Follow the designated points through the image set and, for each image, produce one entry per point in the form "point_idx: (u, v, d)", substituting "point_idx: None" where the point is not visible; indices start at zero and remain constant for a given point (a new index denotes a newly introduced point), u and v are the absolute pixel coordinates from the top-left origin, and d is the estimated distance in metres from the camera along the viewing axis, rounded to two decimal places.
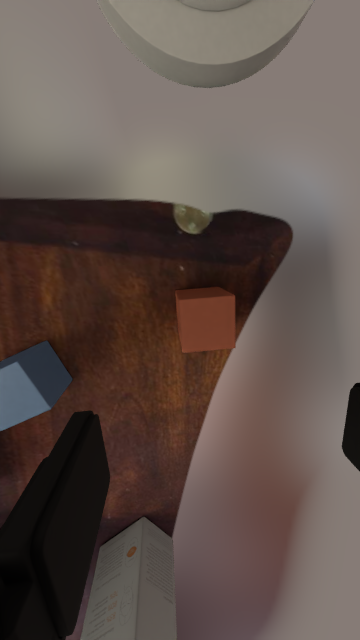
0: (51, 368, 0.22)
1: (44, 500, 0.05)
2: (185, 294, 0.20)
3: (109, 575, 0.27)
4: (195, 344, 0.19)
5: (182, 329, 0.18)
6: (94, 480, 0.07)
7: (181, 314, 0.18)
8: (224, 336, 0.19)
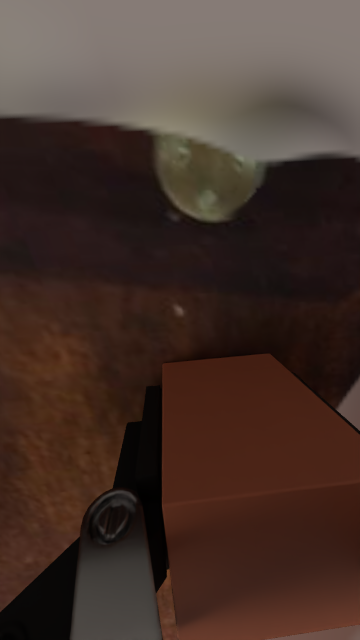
0: None
1: (155, 444, 0.06)
2: (189, 413, 0.06)
3: None
4: (228, 629, 0.05)
5: (179, 596, 0.05)
6: None
7: (174, 552, 0.04)
8: (338, 600, 0.05)
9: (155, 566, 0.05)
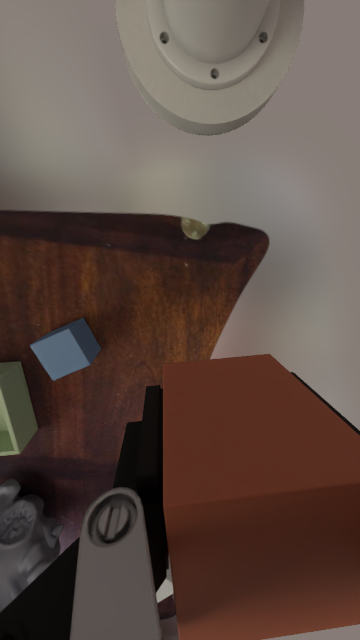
0: (87, 337, 0.29)
1: (155, 444, 0.06)
2: (190, 414, 0.06)
3: None
4: (228, 628, 0.05)
5: (180, 595, 0.05)
6: None
7: (175, 552, 0.04)
8: (338, 600, 0.05)
9: (155, 566, 0.05)
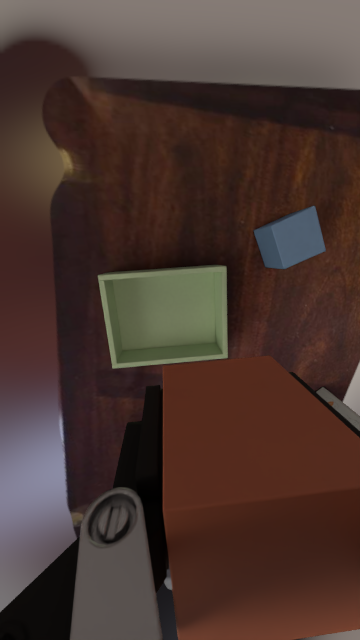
0: None
1: (155, 444, 0.06)
2: (190, 417, 0.06)
3: None
4: (229, 634, 0.05)
5: (180, 601, 0.05)
6: None
7: (175, 557, 0.04)
8: (339, 605, 0.05)
9: (155, 566, 0.05)
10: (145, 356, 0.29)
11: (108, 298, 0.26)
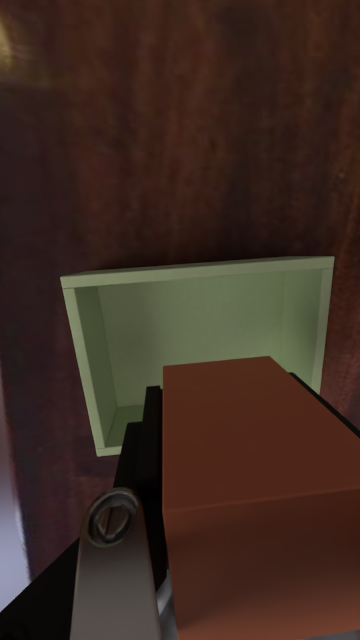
0: None
1: (155, 444, 0.06)
2: (190, 417, 0.06)
3: None
4: (228, 634, 0.05)
5: (179, 601, 0.05)
6: None
7: (175, 558, 0.04)
8: (338, 606, 0.05)
9: (155, 566, 0.05)
10: None
11: (86, 323, 0.13)
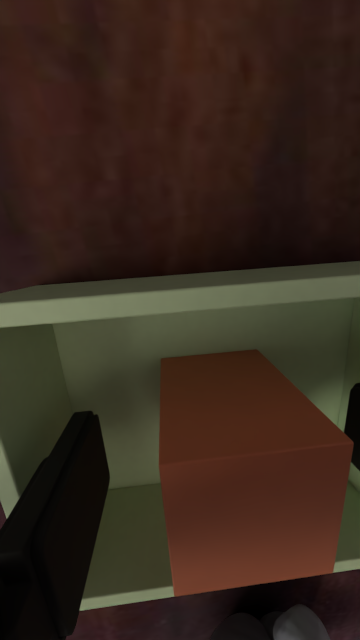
0: None
1: (44, 500, 0.05)
2: (183, 399, 0.07)
3: None
4: (214, 575, 0.06)
5: (173, 544, 0.06)
6: (94, 480, 0.07)
7: (169, 505, 0.05)
8: (306, 551, 0.06)
9: None
10: (153, 543, 0.09)
11: (9, 393, 0.07)
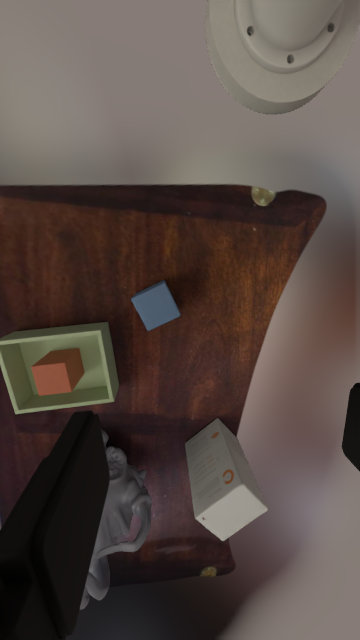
0: None
1: (44, 500, 0.05)
2: (44, 358, 0.32)
3: (200, 451, 0.38)
4: (46, 390, 0.31)
5: (36, 382, 0.31)
6: (94, 480, 0.07)
7: (34, 374, 0.30)
8: (63, 385, 0.31)
9: None
10: (46, 401, 0.35)
11: (6, 357, 0.32)
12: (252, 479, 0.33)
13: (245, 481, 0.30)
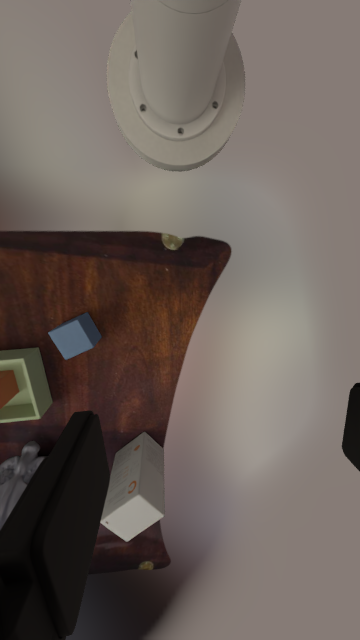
0: (91, 327, 0.38)
1: (44, 500, 0.05)
2: None
3: (122, 461, 0.43)
4: None
5: None
6: (94, 480, 0.07)
7: None
8: None
9: None
10: None
11: None
12: (158, 489, 0.38)
13: (144, 491, 0.35)
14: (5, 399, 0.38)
